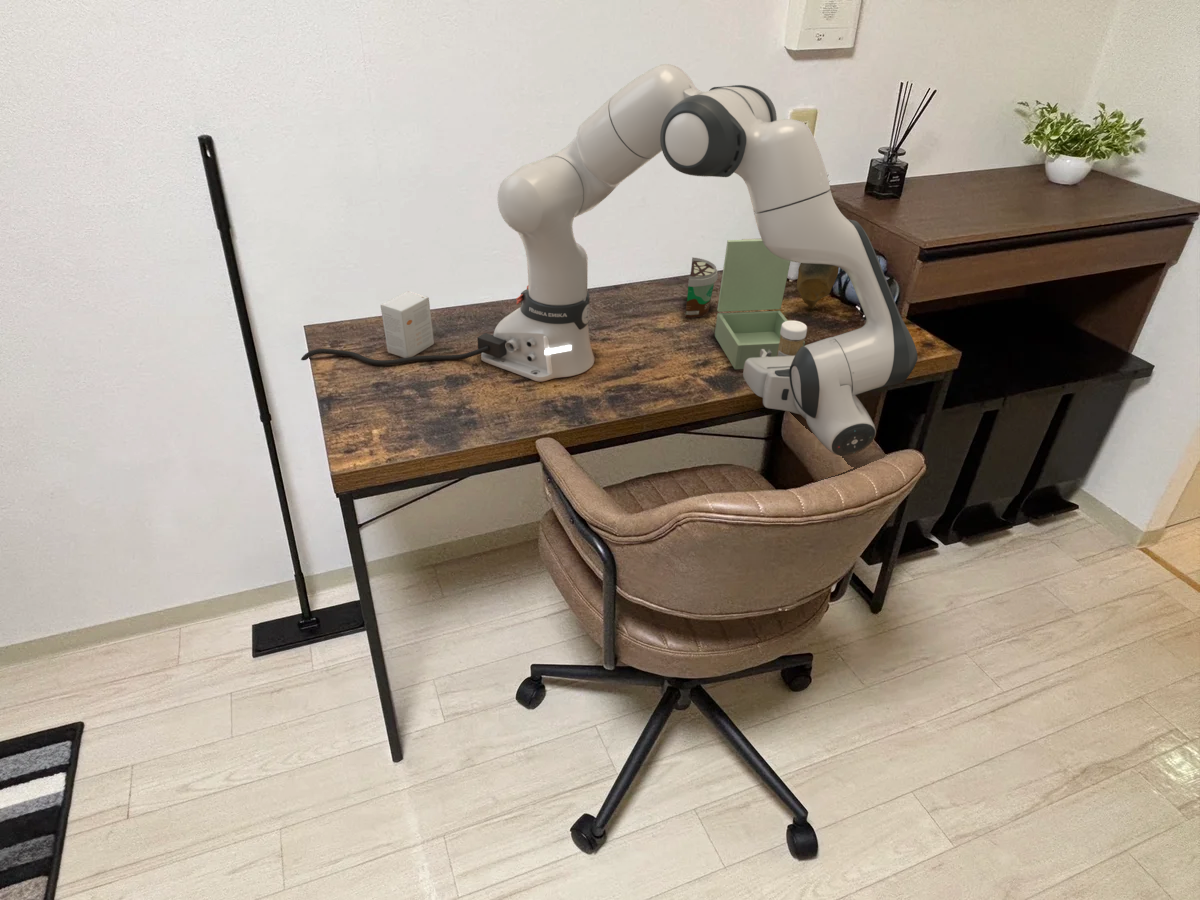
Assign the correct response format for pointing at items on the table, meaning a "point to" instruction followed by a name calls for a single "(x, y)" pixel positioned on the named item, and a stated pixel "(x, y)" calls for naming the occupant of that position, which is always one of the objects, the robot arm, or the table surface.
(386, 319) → the small box
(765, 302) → the lid
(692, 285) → the food container
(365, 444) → the table surface
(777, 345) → the chest
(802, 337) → the sprinkles bottle
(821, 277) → the decorative stone
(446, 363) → the table surface
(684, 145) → the robot arm
